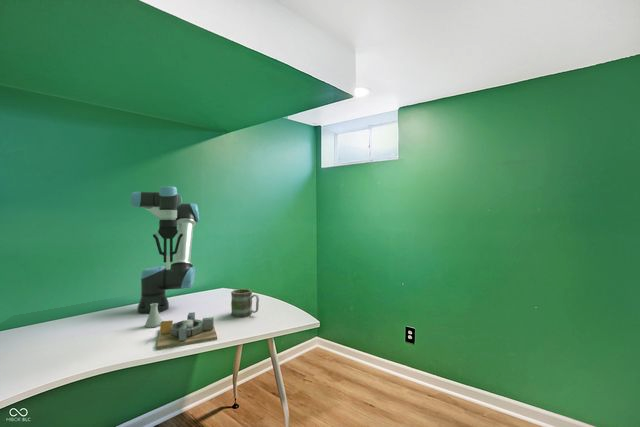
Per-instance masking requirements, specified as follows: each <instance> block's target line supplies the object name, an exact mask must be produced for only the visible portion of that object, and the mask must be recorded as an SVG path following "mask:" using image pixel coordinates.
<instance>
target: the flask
mask: <svg viewBox="0 0 640 427" xmlns="http://www.w3.org/2000/svg"><path fill="white" fill-rule="evenodd" d="M157 305H158V303H153V304H150V306H151V310H150V313H149V314H148V318H147V319H146V322H145V325H144V327H145V328H148V329H149V328H157V327H160V323H161V322H162V321H163V320H162V318H161V315H160V312H158V308H157Z"/></svg>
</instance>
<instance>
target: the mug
mask: <svg viewBox="0 0 640 427" xmlns="http://www.w3.org/2000/svg"><path fill="white" fill-rule="evenodd" d="M230 294H231V302H230V303H231V304H230V306H231V314H230V317H233V318H234V319H235V318H237V319H238V318H240V319H241V318H247V317H251V315H252V314H255V313H257V312H258V311H259V307H260V306H259V302H260V298H259V295H258V294H257V293H255V294H253V290H252V289H249V288H238V289H234V290H232V291H231V292H230ZM254 297H256V298H255V300H256V301H255V302H256V304H255V310H254V309H253V308H252V307H253V298H254Z"/></svg>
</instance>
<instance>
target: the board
mask: <svg viewBox="0 0 640 427" xmlns="http://www.w3.org/2000/svg"><path fill="white" fill-rule="evenodd" d="M181 321H182V326H184V325H188V328H192V327H193V320H187V319H185V320H184V321H183V320H181ZM158 333H159V334H158V340H157V344H156V347H157V348H156V349H157V351H158V350H164V349H169V348H174V347H176V348H177V347H182V346H188V345H192V344H193V345H194V344H198V343H204V342H211V341H216V340H218V335H217V331H216V328H215V325H213V329H212V330H203V331H202V332H200V333H198V334H195V335H193V336H192V335H191V336H188V337H187V339H186V340H182V341H179V337H176V336H173V335H170V333H166V334H160V331H159V332H158Z"/></svg>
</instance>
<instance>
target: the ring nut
mask: <svg viewBox="0 0 640 427" xmlns="http://www.w3.org/2000/svg"><path fill="white" fill-rule="evenodd" d="M214 318H215V317H213V316H211V317H203V319H202V320H201V319H198V318H197V319H196V312H188V314H187V319H186V320H193V327H192V328H188V325H184V326H182V321H184V320H181V321H177V322H175V323H174V321H173V320H162V322H161V323H160V326H159V332H160V334H166V333H170V335H173V336H176V337H179V341H182V340H186V339H187V337H188V336H191V335H192V336H193V335H195V334H198V333H200V332H202V331H203V330H212V329H213V325H214ZM214 326H215V325H214Z"/></svg>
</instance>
